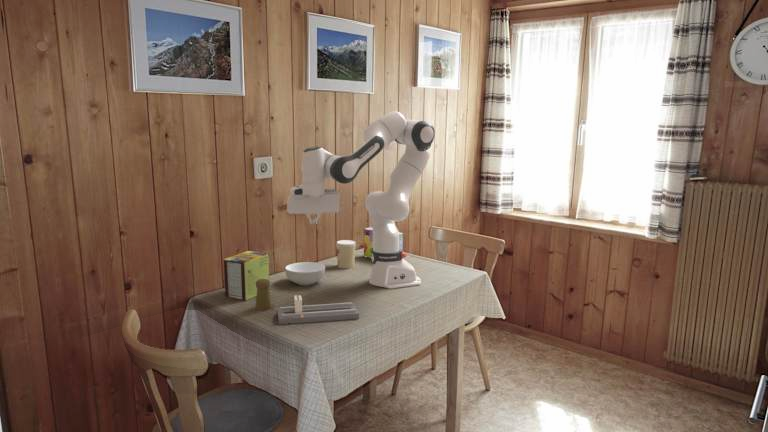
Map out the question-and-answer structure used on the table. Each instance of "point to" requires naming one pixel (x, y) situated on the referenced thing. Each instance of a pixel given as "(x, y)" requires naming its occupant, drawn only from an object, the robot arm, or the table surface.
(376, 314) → the table surface
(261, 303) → the cork
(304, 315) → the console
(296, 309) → the fader tab
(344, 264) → the coffee cup
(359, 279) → the table surface
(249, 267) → the protein box
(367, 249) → the snack box
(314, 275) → the cereal bowl
